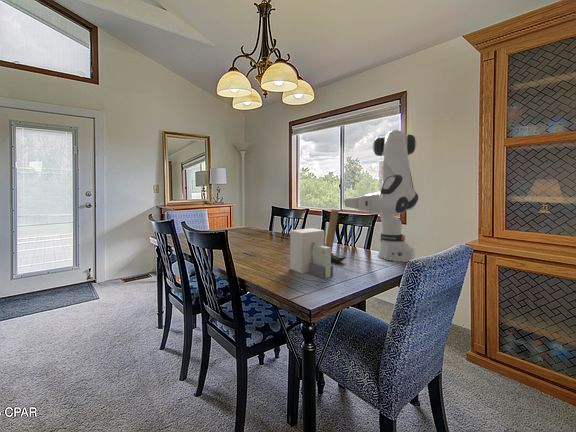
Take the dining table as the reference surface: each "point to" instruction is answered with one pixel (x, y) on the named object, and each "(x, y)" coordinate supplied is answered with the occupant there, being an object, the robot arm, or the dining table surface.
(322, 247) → the white upright block
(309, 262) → the hinge cabinet
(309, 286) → the dining table surface
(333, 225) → the hammer
